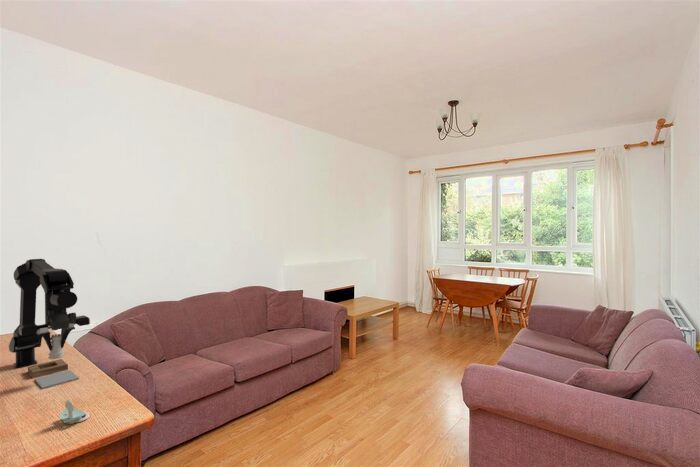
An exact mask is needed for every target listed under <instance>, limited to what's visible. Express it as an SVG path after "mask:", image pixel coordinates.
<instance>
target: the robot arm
mask: <svg viewBox="0 0 700 467" xmlns="http://www.w3.org/2000/svg"><path fill="white" fill-rule="evenodd" d="M13 279H14V281H15V284H16V285H17V286H18V287H19V289H20V300H19V301H20V302H19V304H20V305H19V325H18V326H17V327H16V328H15V330H13V334H12V335H13V336H12V337H11V338H10V341H9V345H8V351H9V352H10V353H12V354H14V353H15V362H14V363H13V364H12V365H13V366H14V368H15V369H17V368H22V367H28V366H33V365H37V364H39V363H38V362H39V361H38V360H37V359H36V348H40V347H41V345H42V340H44V341H45V343H46V346H47V347H48V349H49V352H50V351H51V350H52V343H51V342H52V340H51V332H50V331H49V330H50V329H51V331H58V330H60V334H61V336H62V338H61V339H60V340H61V348H62V349H63V348H64V345H65V343H66V341H67V339H68V336H69V335H70V333H71V331H72V330H75V329H76V327H75V325H77V326H78V327H82V326H89V325H90V324H91V323H90V317H88V316H86V315H78V316H77V313H76V312H71V313H68V312H67V309H70V308H72V307H73V306H75V305H76V304H77V302H78V296H77V294H76V293H75V292H73V291H71V289H74V285H75V282H74V280H73V278H72V276H71V275H70V273H69V272H68V271H67V269H63V268H55V267H53V266H52V265H51V264H49V263H47V261H46V260H45V259H44V258H29V259H26V261H25V263H22V264H21V265H18V266H17V267H16V268H15V270H14V271H13ZM40 286H41V288H42V289H43V291H44V292H43V293H44V319H45V320H44V321H45V322H44V324H38V325H37V324H36V314H37V313H36V312H37V310H36V309H37V307H36V306H37V303H36V302H37V290H38V288H39V287H40ZM42 338H43V339H42Z"/></svg>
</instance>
